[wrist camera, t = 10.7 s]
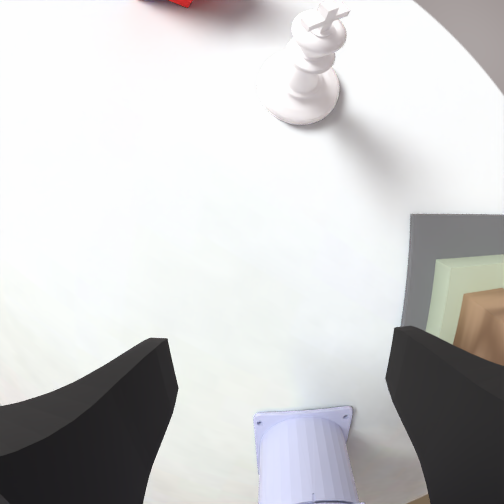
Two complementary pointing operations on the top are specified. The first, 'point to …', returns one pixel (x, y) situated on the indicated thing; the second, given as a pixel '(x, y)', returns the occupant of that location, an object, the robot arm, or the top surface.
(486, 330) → the walnut snap block
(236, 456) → the top surface
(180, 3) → the toy building block
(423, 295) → the build mat
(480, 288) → the base block
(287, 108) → the chess piece
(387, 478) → the top surface
